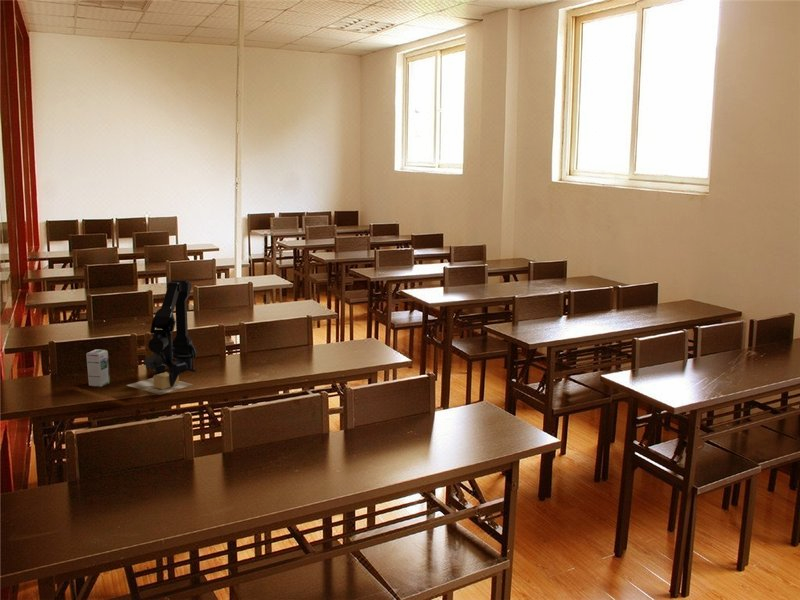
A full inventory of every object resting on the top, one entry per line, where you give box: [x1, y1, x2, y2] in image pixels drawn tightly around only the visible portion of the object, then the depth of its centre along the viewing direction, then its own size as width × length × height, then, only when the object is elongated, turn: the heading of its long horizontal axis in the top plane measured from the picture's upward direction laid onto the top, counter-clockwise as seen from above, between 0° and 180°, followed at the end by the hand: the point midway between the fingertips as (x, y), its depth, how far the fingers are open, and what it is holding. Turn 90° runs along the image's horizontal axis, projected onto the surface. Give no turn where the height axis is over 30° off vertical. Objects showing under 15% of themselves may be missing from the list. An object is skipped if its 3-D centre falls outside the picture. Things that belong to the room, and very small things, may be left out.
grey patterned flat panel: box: [126, 377, 194, 396], centre depth 282 cm, size 16×20×1 cm
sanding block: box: [152, 371, 180, 390], centre depth 279 cm, size 8×5×5 cm, turn 147°
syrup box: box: [85, 349, 111, 387], centre depth 280 cm, size 6×6×14 cm
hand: (166, 384), depth 279 cm, fingers open, 6 cm apart
